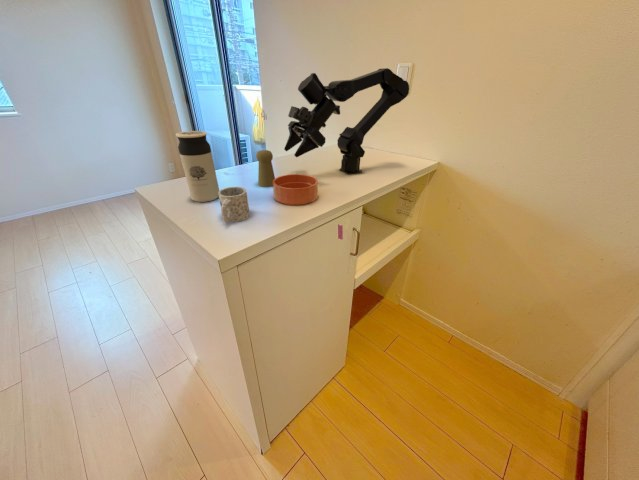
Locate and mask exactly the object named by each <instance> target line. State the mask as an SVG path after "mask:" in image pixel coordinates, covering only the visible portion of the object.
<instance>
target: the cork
mask: <svg viewBox="0 0 639 480" xmlns="http://www.w3.org/2000/svg"><path fill="white" fill-rule="evenodd" d="M255 157H256V160H257V162H258V170H257V171H258V173H257V174H258V175H257V177H258V178H257V179H258V180H257V181H258V183H257V185H258V186H259V187H262V188H270V187H273V180H274V179H275V178H276V177H275V176H276V175H275V171H274V167H273V162H272V161H273V159H274V158H273V157H274V156H273V152H272V151H271V150H268V149H262V150H258V151H257V152H256V155H255Z"/></svg>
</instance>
